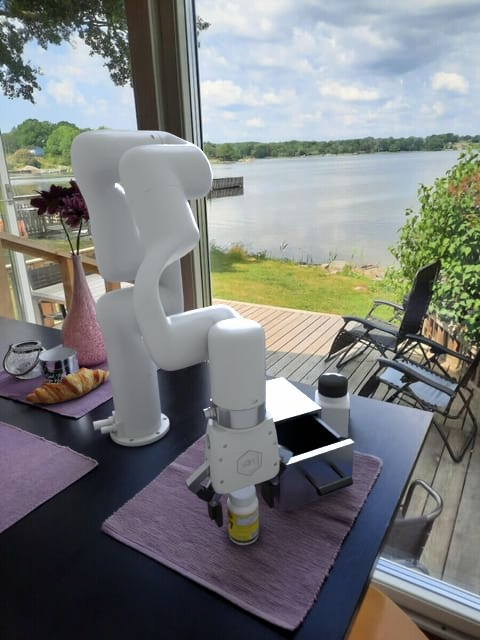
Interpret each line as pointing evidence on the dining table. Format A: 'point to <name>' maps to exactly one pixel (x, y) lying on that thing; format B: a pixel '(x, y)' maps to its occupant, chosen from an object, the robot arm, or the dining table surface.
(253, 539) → the supplement bottle
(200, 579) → the dining table surface
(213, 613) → the dining table surface
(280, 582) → the dining table surface
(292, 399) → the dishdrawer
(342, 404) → the medicine bottle
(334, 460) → the drawer
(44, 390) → the croissant
